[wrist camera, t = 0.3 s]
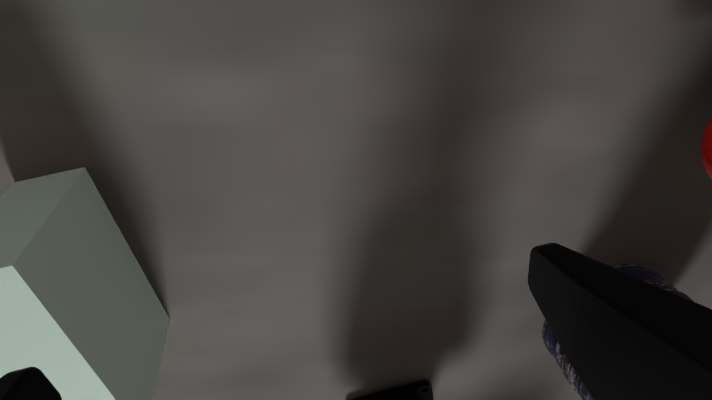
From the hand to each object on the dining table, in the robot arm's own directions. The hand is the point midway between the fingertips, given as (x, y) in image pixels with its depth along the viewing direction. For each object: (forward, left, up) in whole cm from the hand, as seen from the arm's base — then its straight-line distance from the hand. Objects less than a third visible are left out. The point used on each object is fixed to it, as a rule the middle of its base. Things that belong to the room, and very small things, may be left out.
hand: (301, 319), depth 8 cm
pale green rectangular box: (-6, +11, -14) cm, 18 cm away
